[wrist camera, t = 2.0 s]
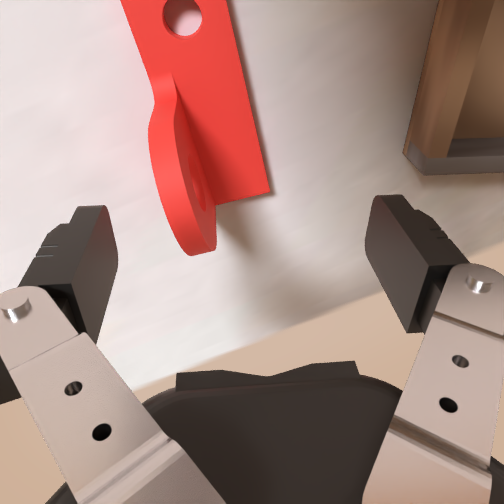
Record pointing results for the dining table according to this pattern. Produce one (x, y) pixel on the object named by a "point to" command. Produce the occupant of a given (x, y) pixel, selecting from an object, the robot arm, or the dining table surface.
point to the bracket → (197, 119)
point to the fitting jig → (461, 92)
